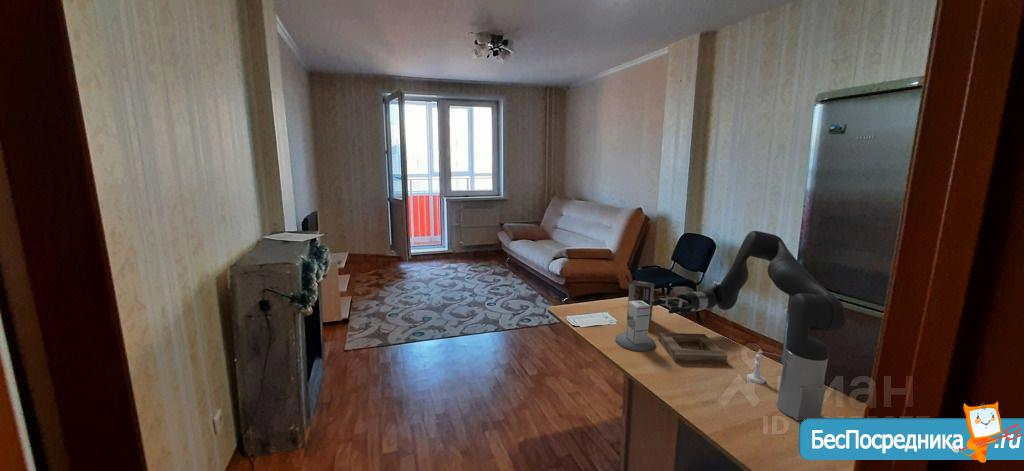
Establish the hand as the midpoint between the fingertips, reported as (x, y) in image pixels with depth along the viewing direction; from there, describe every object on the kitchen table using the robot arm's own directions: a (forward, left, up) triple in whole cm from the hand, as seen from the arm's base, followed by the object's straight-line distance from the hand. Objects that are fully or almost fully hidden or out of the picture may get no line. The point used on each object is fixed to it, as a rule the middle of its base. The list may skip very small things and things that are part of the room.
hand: (660, 306), depth 154 cm
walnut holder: (-10, -8, -13) cm, 18 cm away
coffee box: (+18, +2, -13) cm, 22 cm away
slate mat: (-4, +10, -13) cm, 17 cm away
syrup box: (-5, +10, -12) cm, 16 cm away
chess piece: (-28, -21, -13) cm, 38 cm away
